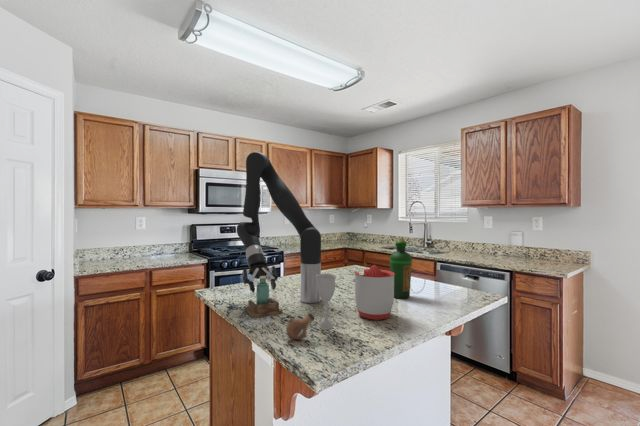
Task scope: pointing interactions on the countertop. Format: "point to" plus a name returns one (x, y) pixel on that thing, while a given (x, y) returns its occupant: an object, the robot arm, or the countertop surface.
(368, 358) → the countertop surface
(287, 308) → the countertop surface
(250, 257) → the robot arm
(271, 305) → the u rest
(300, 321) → the brown animal figurine
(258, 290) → the bottle
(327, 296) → the chalice
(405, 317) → the countertop surface
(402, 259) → the bottle
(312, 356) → the countertop surface
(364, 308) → the citrus juicer
